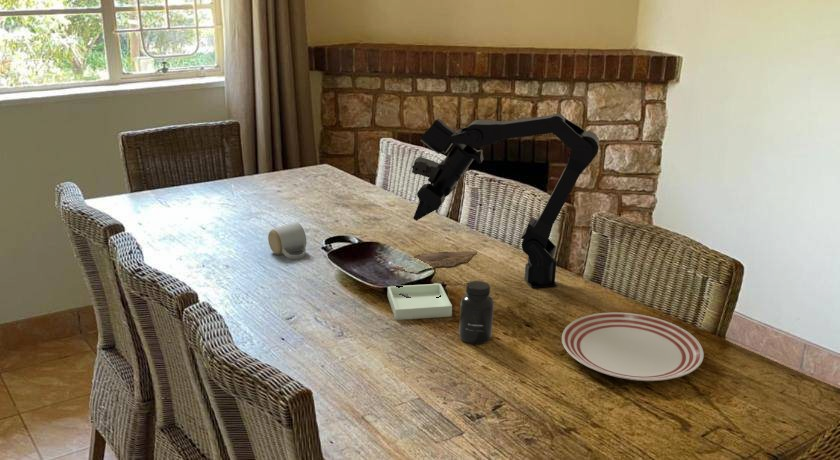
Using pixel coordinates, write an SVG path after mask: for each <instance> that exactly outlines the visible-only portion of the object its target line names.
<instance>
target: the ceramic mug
mask: <svg viewBox="0 0 840 460" xmlns="http://www.w3.org/2000/svg"><path fill="white" fill-rule="evenodd" d="M267 240H268V244H269V248H270V250H271V252H273V253H274V254H275V255H278V256H279V255H281V256H282V255H284V256H285V257H286V258H288V259H290V260H301V259H303V258H304V256H305V255H306V251H307V249H306V247H307V235H306V231H305V230H304V227H303V226H302V225H301V224H300V223H299V222H298V221H294V222H291V223H288V224H285V225H281V226H277V227H275V228H273V229H271V230H270V231H269V233H268V235H267ZM300 251H302V253H300V254H291V253H296V252H300Z"/></svg>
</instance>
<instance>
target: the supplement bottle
mask: <svg viewBox="0 0 840 460" xmlns="http://www.w3.org/2000/svg"><path fill="white" fill-rule="evenodd" d="M490 295H491V286H490V284H489V283H488V282H485V281H483V280H482V281H480V280H472V281H469V282H468V283H466V289H465V295H463V296H462V297H461V299H460V307H459V309H460V310H459V311H460V312H459V329H458V332H459V333H458V336H459V338H460V339H461V341H463V342H465V343H467V344H470V345H483V344H487V343H488V342H490V341H491V339H492V333H493V319H494V318H493V317H494V306H495V305H494V303H495V302H494V300H493V297H492V296H490Z"/></svg>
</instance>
